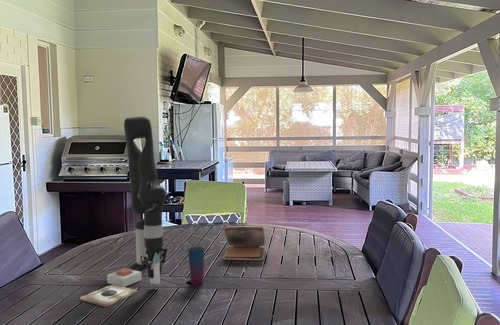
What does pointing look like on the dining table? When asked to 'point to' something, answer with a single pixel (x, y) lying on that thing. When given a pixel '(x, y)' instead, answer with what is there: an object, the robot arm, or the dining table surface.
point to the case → (245, 243)
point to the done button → (124, 271)
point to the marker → (156, 271)
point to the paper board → (108, 295)
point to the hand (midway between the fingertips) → (154, 275)
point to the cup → (196, 264)
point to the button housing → (124, 278)
